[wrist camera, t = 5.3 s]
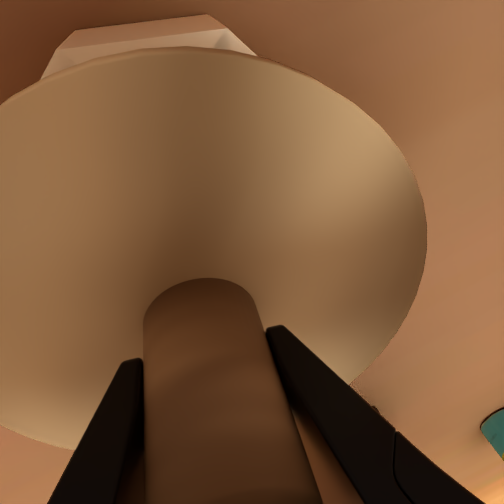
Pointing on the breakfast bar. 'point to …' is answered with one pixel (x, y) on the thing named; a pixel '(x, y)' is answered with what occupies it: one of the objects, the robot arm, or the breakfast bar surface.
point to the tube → (495, 431)
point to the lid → (196, 257)
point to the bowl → (143, 39)
